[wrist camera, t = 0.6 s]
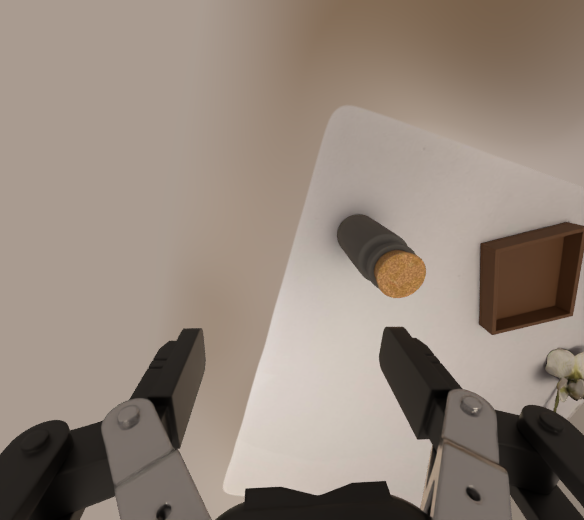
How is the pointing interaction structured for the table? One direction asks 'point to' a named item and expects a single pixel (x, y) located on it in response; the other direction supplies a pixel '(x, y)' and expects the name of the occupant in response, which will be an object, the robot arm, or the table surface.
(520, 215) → the table surface
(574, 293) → the tray
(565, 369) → the artificial flower
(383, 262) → the bottle
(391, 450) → the table surface
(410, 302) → the table surface
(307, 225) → the table surface
